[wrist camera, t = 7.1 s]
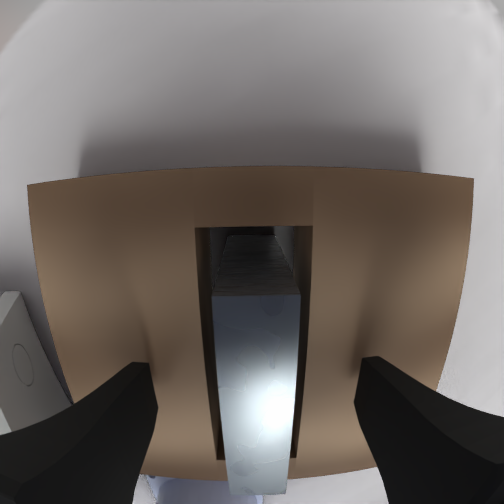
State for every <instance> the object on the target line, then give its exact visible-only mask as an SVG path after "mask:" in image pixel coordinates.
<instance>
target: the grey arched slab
mask: <svg viewBox="0 0 504 504" xmlns="http://www.w3.org/2000/svg"><path fill="white" fill-rule="evenodd" d="M70 406H71V403H70V401H69V399H68V398H67V396H66V394H65V392H64V390H63V388H62V387H61V385H60V383H59V381H58V379H57V377H56V375H55V373H54V371H53V369H52V367H51V365H50V363H49V360H48V358H47V356H46V354H45V352H44V350H43V347H42V345H41V343H40V341H39V338H38V336H37V334H36V331H35V329H34V326H33V324H32V321H31V319H30V316H29V314H28V311H27V308H26V306H25V303H24V300H23V297H22V295H21V292H19V291H5V292H4V293H3V294H2V296H1V297H0V435H2V434H6V433H10V432H13V431H16V430H19V429H22V428H25V427H28V426H30V425H33V424H35V423H38V422H40V421H43V420H45V419H47V418H49V417H51V416H53V415H55V414H57V413H59V412H61V411H63V410H65V409H66V408H68V407H70Z"/></svg>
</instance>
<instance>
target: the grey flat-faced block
mask: <svg viewBox="0 0 504 504" xmlns="http://www.w3.org/2000/svg"><path fill="white" fill-rule="evenodd" d="M300 304H301V294H300V292H299V289H298V287H297V285H296V282H295V280H294V278H293V275H292V273H291V271H290V268H289V266H288V264H287V261H286V259H285V257H284V255H283V252H282V250H281V248H280V245H279V243H278V241H277V239H276V236H275V235H237V236H228V238H227V242H226V245H225V249H224V253H223V256H222V260H221V264H220V267H219V271H218V275H217V278H216V282H215V286H214V289H213V293H212V311H213V326H214V340H215V353H216V366H217V378H218V390H219V401H220V411H221V421H222V431H223V441H224V450H225V459H226V467H227V476H228V484H229V492H230V495H274V494H285V493H286V485H287V476H288V467H289V457H290V447H291V437H292V426H293V415H294V402H295V389H296V375H297V360H298V344H299V325H300Z"/></svg>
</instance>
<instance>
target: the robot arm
mask: <svg viewBox="0 0 504 504" xmlns="http://www.w3.org/2000/svg"><path fill="white" fill-rule="evenodd" d="M353 403H354V406H355V410H356V414H357V418H358V421H359V425H360V428H361V430H362V432H363V435H364V437H365V439H366V442H367V444H368V446H369V449H370V451H371V453H372V456H373V458H374V460H375V462H376V465H377V467H378V469H379V472H380V475H381V477H382V480H383V483H384V487H385V491H386V494H387V498H388V502H389V504H504V417H501V416H497V415H493V414H489V413H486V412H483V411H479V410H476V409H473V408H471V407H468V406H466V405H463V404H461V403H458V402H456V401H454V400H452V399H449V398H447V397H445V396H443V395H441V394H440V393H438V392H436V391H434V390H432V389H430V388H429V387H427V386H425V385H424V384H422V383H420V382H419V381H417V380H415V379H414V378H412V377H411V376H409V375H408V374H406V373H405V372H403V371H402V370H400V369H399V368H397V367H396V366H394V365H392V364H391V363H389V362H388V361H386V360H385V359H383V358H381V357H379V356H372V357H363V358H362V360H361V366H360V372H359V377H358V382H357V388H356V393H355V398H354V402H353ZM158 408H159V407H158V403H157V399H156V394H155V390H154V385H153V380H152V376H151V371H150V366H149V363H146V362H131V363H130V364H128V365H127V366H125V367H124V368H123V369H121V370H120V371H119V372H118V373H116V374H115V375H114V376H112V377H111V378H110V379H109V380H107V381H106V382H105V383H103V384H102V385H101V386H99V387H98V388H97V389H95V390H94V391H92V392H91V393H90V394H88V395H87V396H85V397H84V398H82V399H81V400H79V401H78V402H76V403H75V404H73V405H71V406H70V407H68V408H66V409H65V410H63V411H61V412H59V413H57V414H55V415H53V416H51V417H49V418H47V419H45V420H43V421H40V422H38V423H35V424H33V425H30V426H28V427H25V428H22V429H19V430H16V431H13V432H10V433H6V434H2V435H0V504H132V501H133V496H134V491H135V487H136V483H137V479H138V476H139V474H140V471H141V468H142V465H143V462H144V459H145V456H146V453H147V450H148V447H149V444H150V442H151V439H152V436H153V433H154V429H155V424H156V419H157V413H158ZM146 478H147V480H148V483H149V485H150V487H151V489H152V492H153V494H154V496H155V498H156V504H263V495H230V492H229V484H228V481H211V480H192V479H180V478H169V477H160V476H152V475H146Z"/></svg>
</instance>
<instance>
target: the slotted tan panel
mask: <svg viewBox="0 0 504 504" xmlns="http://www.w3.org/2000/svg"><path fill="white" fill-rule="evenodd" d="M473 188H474V179H473V178H466V177H457V176H449V175H440V174H430V173H419V172H408V171H395V170H381V169H365V168H344V167H314V166H235V167H204V168H184V169H167V170H152V171H139V172H128V173H117V174H107V175H98V176H89V177H80V178H72V179H65V180H57V181H50V182H43V183H37V184H30V185H27V190H28V204H29V215H30V225H31V233H32V241H33V248H34V255H35V261H36V267H37V273H38V278H39V283H40V288H41V293H42V298H43V302H44V307H45V311H46V315H47V319H48V323H49V327H50V331H51V335H52V338H53V342H54V345H55V349H56V352H57V355H58V359H59V362H60V365H61V368H62V371H63V374H64V377H65V380H66V383H67V386H68V388H69V391H70V394H71V396H72V399H73V402H74V404H75V403H76V402H78V401H79V400H81V399H82V398H84V397H85V396H87V395H88V394H90V393H91V392H92V391H94V390H95V389H97V388H98V387H99V386H101V385H102V384H103V383H105V382H106V381H107V380H109V379H110V378H111V377H112V376H114V375H115V374H116V373H118V372H119V371H120V370H121V369H123V368H124V367H125V366H127V365H128V364H130V363H131V362H146V363H149V366H150V371H151V376H152V380H153V385H154V390H155V394H156V399H157V403H158V407H159V408H158V413H157V419H156V424H155V429H154V433H153V436H152V439H151V442H150V444H149V447H148V450H147V453H146V456H145V459H144V462H143V465H142V468H141V471H140V474H145V475H152V476H160V477H169V478H180V479H192V480H211V481H228V476H227V467H226V459H225V450H224V441H223V431H222V421H221V411H220V401H219V390H218V378H217V366H216V353H215V340H214V326H213V311H212V293H213V288H212V269H211V249H210V227H241V226H294V263H293V278H294V280H295V282H296V285H297V287H298V289H299V292H300V294H301V304H300V325H299V344H298V360H297V375H296V389H295V402H294V415H293V426H292V437H291V447H290V457H289V467H288V476H287V479H297V478H308V477H317V476H325V475H333V474H340V473H346V472H352V471H358V470H363V469H368V468H373V467H377V465H376V462H375V460H374V458H373V456H372V453H371V451H370V449H369V446H368V444H367V442H366V439H365V437H364V435H363V432H362V430H361V428H360V425H359V421H358V418H357V414H356V410H355V406H354V403H353V402H354V398H355V393H356V388H357V382H358V377H359V372H360V366H361V360H362V358H363V357H372V356H379V357H381V358H383V359H385V360H386V361H388V362H389V363H391V364H392V365H394V366H396V367H397V368H399V369H400V370H402V371H403V372H405V373H406V374H408V375H409V376H411V377H412V378H414V379H415V380H417V381H419V382H420V383H422V384H424V385H425V386H427V387H429V388H430V389H432V390H434V391H436V389H437V386H438V383H439V380H440V377H441V374H442V370H443V367H444V364H445V360H446V357H447V353H448V350H449V346H450V342H451V338H452V334H453V330H454V326H455V322H456V318H457V313H458V308H459V304H460V299H461V294H462V288H463V283H464V277H465V270H466V264H467V257H468V249H469V241H470V231H471V221H472V207H473Z"/></svg>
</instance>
